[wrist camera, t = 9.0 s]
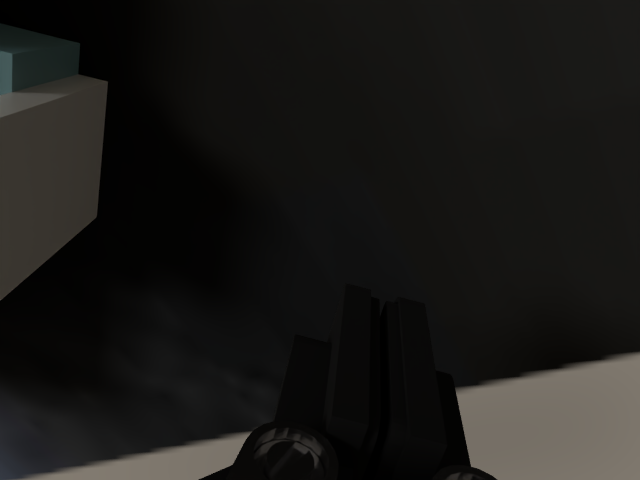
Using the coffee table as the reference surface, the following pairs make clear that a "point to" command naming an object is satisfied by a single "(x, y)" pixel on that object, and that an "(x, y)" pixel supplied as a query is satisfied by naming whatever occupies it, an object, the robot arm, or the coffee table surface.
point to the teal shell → (45, 149)
